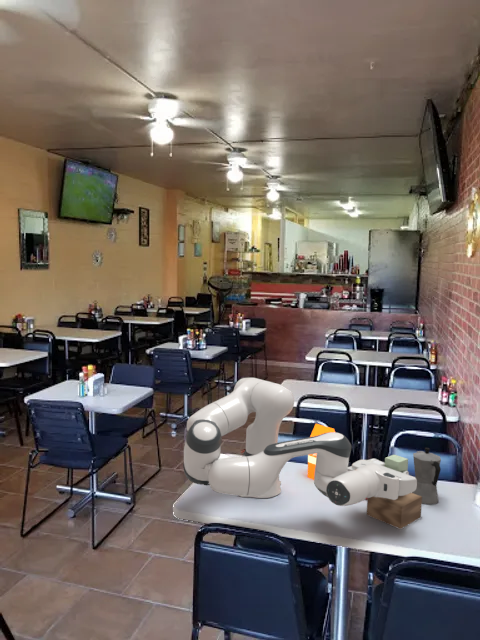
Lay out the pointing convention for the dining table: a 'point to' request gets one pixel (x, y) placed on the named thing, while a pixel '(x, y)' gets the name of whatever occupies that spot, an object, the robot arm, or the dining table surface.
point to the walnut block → (395, 509)
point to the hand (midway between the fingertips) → (397, 469)
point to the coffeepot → (427, 475)
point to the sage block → (396, 463)
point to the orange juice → (312, 457)
